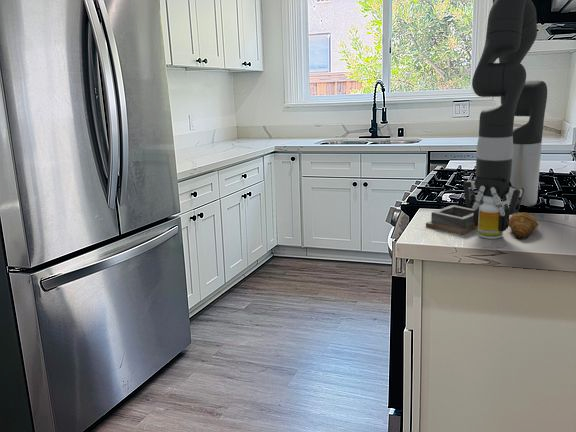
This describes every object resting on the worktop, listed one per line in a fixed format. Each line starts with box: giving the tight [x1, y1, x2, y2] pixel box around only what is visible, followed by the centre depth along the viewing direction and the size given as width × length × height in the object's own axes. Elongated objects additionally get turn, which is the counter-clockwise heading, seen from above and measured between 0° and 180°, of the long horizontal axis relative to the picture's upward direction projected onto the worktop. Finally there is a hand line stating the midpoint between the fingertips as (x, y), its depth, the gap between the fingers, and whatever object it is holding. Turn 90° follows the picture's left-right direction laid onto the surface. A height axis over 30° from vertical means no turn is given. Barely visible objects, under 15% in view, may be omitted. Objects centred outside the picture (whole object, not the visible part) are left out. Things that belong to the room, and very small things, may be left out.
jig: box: [425, 204, 478, 236], centre depth 129 cm, size 12×10×4 cm
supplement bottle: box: [477, 196, 504, 240], centre depth 119 cm, size 5×5×10 cm
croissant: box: [508, 211, 540, 240], centre depth 122 cm, size 14×7×5 cm, turn 153°
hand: (490, 227), depth 120 cm, fingers closed on supplement bottle, 5 cm apart
